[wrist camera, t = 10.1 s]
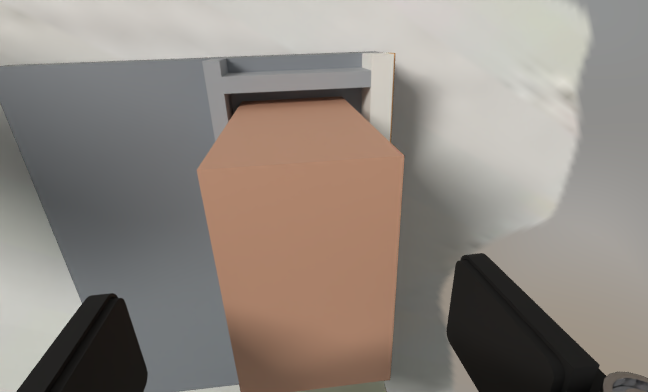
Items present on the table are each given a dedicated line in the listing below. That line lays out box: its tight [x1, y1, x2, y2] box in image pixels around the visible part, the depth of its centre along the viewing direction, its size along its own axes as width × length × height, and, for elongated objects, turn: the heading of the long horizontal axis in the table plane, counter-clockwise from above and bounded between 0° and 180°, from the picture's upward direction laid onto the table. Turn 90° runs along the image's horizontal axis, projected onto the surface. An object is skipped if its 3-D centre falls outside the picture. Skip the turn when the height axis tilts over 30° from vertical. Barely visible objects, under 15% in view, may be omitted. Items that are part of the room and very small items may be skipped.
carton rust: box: [197, 96, 404, 392], centre depth 15 cm, size 8×5×10 cm, turn 2°
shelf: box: [0, 52, 395, 392], centre depth 21 cm, size 22×18×4 cm
